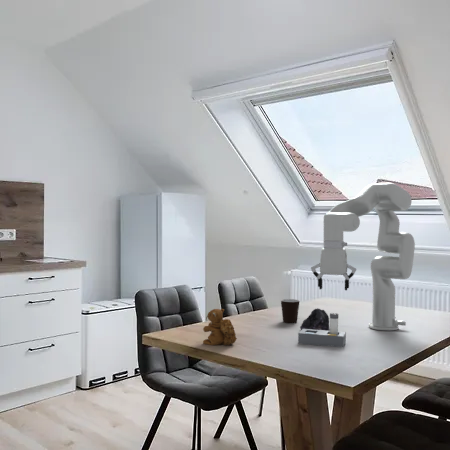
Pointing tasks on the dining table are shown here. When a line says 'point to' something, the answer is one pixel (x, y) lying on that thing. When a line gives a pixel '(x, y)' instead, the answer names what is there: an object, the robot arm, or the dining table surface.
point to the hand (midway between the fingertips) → (333, 289)
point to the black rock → (316, 321)
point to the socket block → (321, 338)
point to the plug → (333, 323)
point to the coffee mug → (290, 310)
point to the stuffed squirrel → (219, 329)
